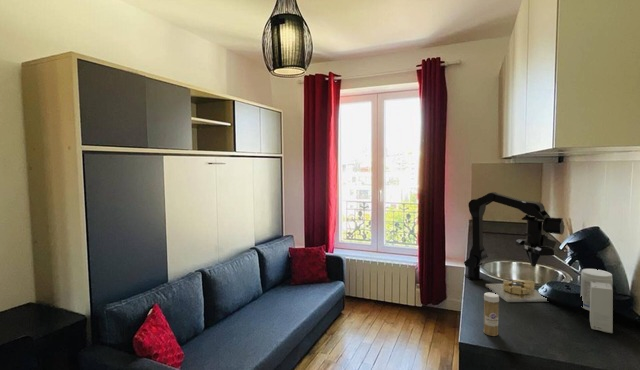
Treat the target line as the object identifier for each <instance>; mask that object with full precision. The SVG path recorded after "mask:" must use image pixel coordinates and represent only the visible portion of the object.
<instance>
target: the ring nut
mask: <svg viewBox="0 0 640 370" xmlns="http://www.w3.org/2000/svg"><path fill="white" fill-rule="evenodd" d="M512 282H518V283H521V287H520V286H513V285H512ZM502 284H503V289H504V290H505V291H507V292H510V293H514V294H520V295H521V294H522V295H524V294H529V293H530V289H535V284H536V283H535V281H533V280H522V281H521V280H516V279H511V281H507V280H503V282H502Z"/></svg>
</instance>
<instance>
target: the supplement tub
mask: <svg viewBox="0 0 640 370" xmlns="http://www.w3.org/2000/svg"><path fill="white" fill-rule="evenodd" d="M597 269H598V268H597ZM597 269H596V268H583V269H581V273H580V297H581V296H582V301H583V307H582V309H584V310H587V311H588V312H590V282H591V281H592V282H600V283H608V284H611V286H612V287H613V281H614V280H613V274H612V273H611V272H609V271H606V270H602V269H598V270H597Z"/></svg>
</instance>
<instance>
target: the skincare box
mask: <svg viewBox="0 0 640 370" xmlns="http://www.w3.org/2000/svg"><path fill="white" fill-rule="evenodd" d="M613 293H614V289H613V285H612V286H611V284H608V283H600V282H592V281H591V282H590V311H589V323H590V324H589V325H590V328H591V329H592V330H595V331H601V332H604V333H609V334H613V333H614V331H613V329H614V328H613V325H614V324H613V323H614V321H613V318H614V316H613V314H614V312H613V311H614V308H613V305H614V303H613V301H614V299H613V296H614V295H613Z"/></svg>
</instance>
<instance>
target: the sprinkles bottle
mask: <svg viewBox="0 0 640 370" xmlns="http://www.w3.org/2000/svg"><path fill="white" fill-rule="evenodd" d="M483 300H484V302H483V304H484V305H483V306H484V307H483V330H482V331H483V333H484V334H485V335H487V336H492V337H496V336H499V315H500V314H499V302H500V296H499V295H497V294H495V293H494V292H485V293H483Z"/></svg>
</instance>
